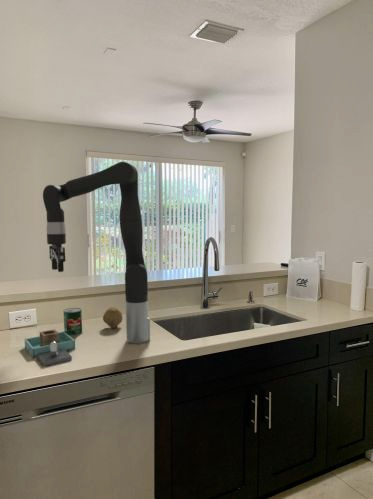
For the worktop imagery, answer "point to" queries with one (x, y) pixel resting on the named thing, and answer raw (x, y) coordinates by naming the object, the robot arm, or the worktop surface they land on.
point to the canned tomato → (73, 321)
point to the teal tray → (34, 345)
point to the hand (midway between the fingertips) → (57, 270)
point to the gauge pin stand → (54, 356)
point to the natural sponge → (112, 317)
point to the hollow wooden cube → (48, 337)
